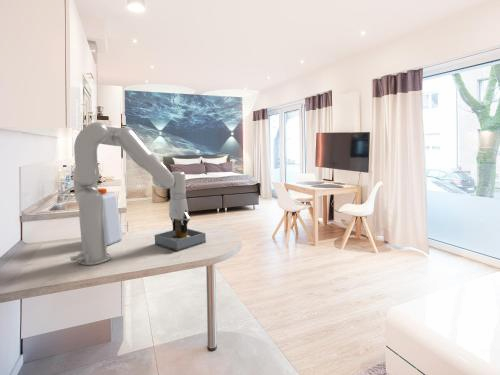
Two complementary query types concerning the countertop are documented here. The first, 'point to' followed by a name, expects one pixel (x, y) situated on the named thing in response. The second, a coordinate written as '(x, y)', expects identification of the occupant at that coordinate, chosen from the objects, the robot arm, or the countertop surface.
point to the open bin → (180, 240)
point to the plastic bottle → (111, 217)
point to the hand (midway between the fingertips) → (179, 230)
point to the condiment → (179, 230)
